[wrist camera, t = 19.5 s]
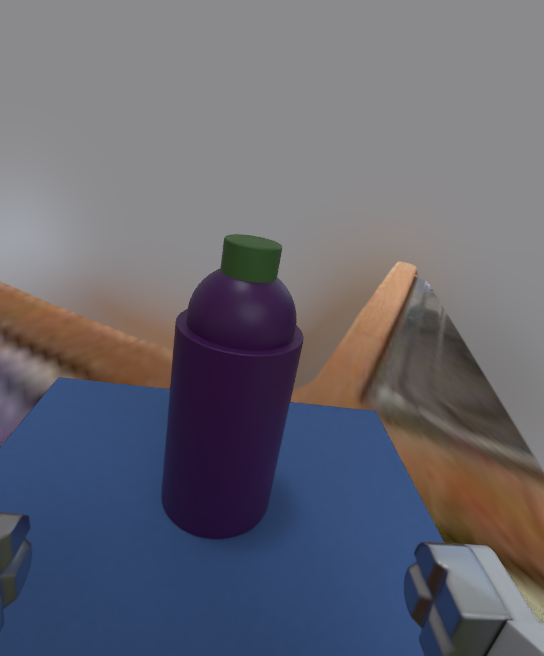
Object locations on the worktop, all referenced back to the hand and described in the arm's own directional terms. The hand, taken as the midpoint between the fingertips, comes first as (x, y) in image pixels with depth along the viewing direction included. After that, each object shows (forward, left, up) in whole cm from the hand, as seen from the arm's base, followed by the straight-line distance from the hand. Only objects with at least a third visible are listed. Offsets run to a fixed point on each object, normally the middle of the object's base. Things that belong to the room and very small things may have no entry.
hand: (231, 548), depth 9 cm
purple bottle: (0, -9, -8) cm, 12 cm away
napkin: (0, -9, -8) cm, 12 cm away
